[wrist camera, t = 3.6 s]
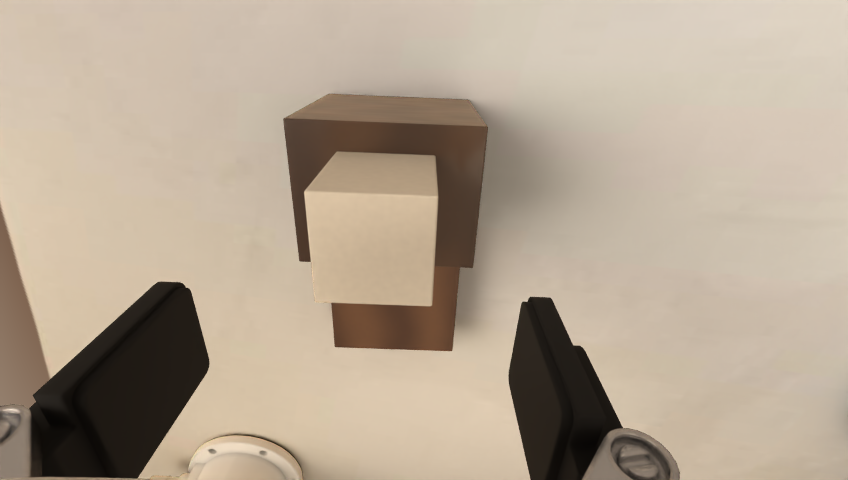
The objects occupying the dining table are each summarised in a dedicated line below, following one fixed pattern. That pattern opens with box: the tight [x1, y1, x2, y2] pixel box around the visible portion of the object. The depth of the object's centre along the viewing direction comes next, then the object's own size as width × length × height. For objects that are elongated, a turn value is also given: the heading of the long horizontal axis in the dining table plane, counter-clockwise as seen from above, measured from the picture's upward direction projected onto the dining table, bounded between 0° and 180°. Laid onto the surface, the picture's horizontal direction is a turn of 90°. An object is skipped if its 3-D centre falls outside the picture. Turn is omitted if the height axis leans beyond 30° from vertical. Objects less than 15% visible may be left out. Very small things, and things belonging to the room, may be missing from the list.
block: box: [304, 152, 438, 306], centre depth 19 cm, size 5×5×6 cm
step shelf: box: [284, 94, 488, 351], centre depth 29 cm, size 10×20×10 cm, turn 178°
